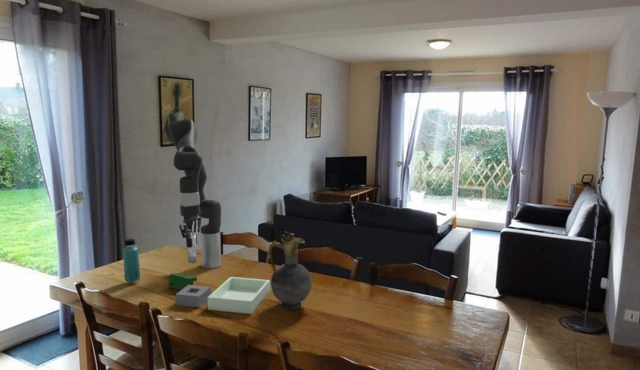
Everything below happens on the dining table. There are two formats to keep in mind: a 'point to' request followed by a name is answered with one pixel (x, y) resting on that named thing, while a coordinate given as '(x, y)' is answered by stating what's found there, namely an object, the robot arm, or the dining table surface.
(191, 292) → the block
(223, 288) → the tray
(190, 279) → the green irregular block
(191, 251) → the lock pin
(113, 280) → the dining table surface
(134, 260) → the beverage bottle
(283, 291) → the pitcher
